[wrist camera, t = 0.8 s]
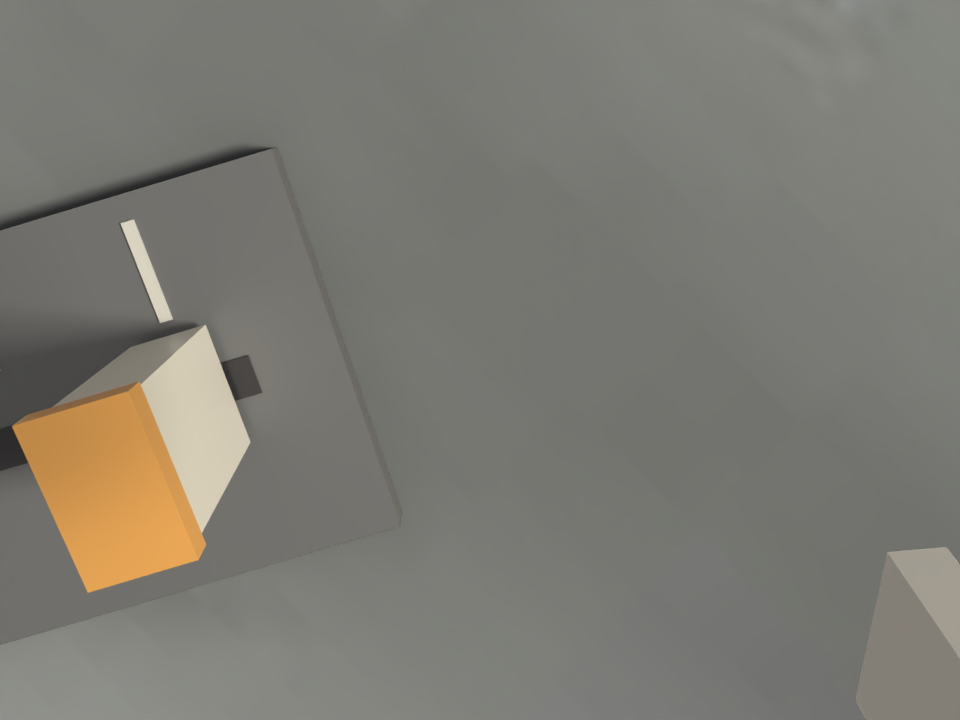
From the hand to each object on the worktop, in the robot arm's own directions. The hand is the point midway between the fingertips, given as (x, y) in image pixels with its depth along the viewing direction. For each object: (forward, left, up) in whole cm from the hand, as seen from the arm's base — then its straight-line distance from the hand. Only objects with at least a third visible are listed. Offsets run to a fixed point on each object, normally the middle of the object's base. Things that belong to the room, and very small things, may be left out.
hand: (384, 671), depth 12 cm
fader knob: (-1, +9, -24) cm, 26 cm away
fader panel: (-1, +16, -26) cm, 30 cm away
